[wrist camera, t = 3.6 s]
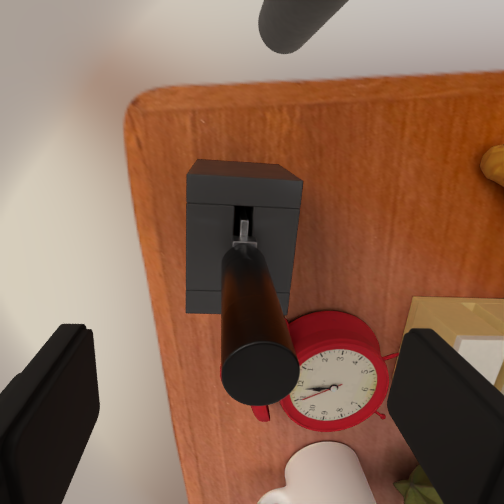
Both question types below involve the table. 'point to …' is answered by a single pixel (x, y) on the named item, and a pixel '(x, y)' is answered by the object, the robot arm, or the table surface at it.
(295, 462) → the mug
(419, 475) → the fruit
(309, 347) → the alarm clock
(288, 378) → the knife
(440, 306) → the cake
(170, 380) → the table surface
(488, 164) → the ice cream
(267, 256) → the knife block
